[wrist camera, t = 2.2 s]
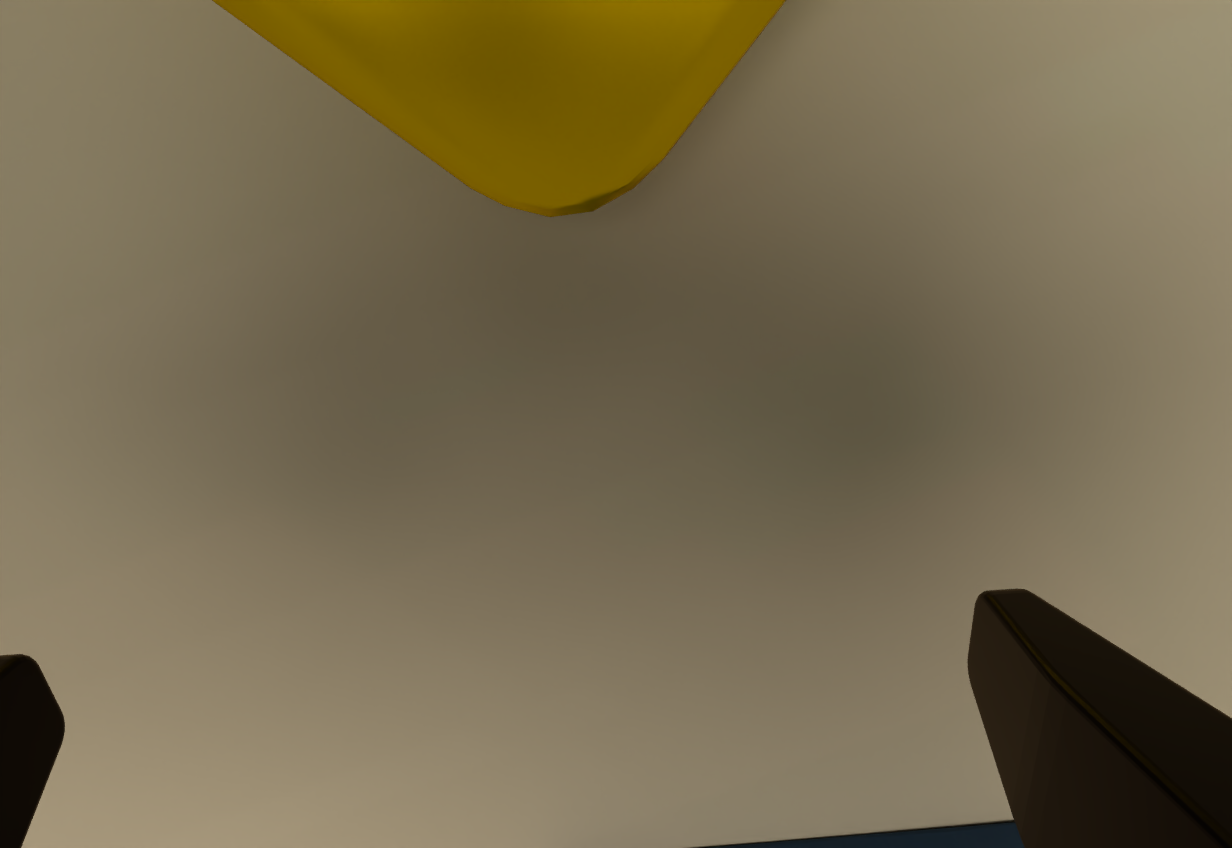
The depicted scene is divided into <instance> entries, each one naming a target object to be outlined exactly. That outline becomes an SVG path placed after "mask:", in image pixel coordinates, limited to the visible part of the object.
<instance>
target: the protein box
mask: <svg viewBox="0 0 1232 848" xmlns="http://www.w3.org/2000/svg"><path fill="white" fill-rule="evenodd" d="M708 848H1024V845H1023V843H1022V840H1021V838H1020V835H1019V832H1018V829H1017V826H1016V823H1015V822H1012V823H1000V824H988V825H977V826H966V827H952V828H939V829H927V830H916V831H904V832H893V833H879V834H866V835H855V836H843V837H829V838H821V839H807V840H791V841H780V842H770V843H757V844H745V845H733V846H720V847H708Z"/></svg>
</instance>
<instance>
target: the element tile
mask: <svg viewBox="0 0 1232 848" xmlns="http://www.w3.org/2000/svg"><path fill="white" fill-rule="evenodd" d="M212 1H214V2H215V3H216V4H218V5H219V6H221V7H222V8H223V9H225V10H226V11H227V12H229V13H230V14H232V15H233V16H234V17H236V18H237V19H238V20H240V21H241V22H243V23H244V24H245V25H247V26H248V27H249V28H251V29H252V30H254V31H255V32H256V33H258V34H259V35H260V36H262V37H263V38H265V39H266V40H267V41H269V42H270V43H271V44H273V45H274V46H276V47H277V48H278V49H280V50H281V51H282V52H284V53H285V54H287V55H288V56H289V57H291V58H292V59H293V60H295V61H296V62H298V63H299V64H300V65H302V66H303V67H305V68H306V69H307V70H309V71H310V72H311V73H313V74H314V75H316V76H317V77H318V78H320V79H321V80H322V81H324V82H325V83H327V84H328V85H329V86H331V87H332V88H333V89H335V90H336V91H338V92H339V93H340V94H342V95H343V96H344V97H346V98H347V99H349V100H350V101H351V102H353V103H354V104H355V105H357V106H358V107H360V108H361V109H362V110H364V111H365V112H366V113H368V114H369V115H371V116H372V117H373V118H375V119H376V120H377V121H379V122H380V123H382V124H383V125H384V126H386V127H387V128H388V129H390V130H391V131H393V132H394V133H395V134H397V135H398V136H399V137H401V138H402V139H404V140H405V141H406V142H408V143H409V144H410V145H412V146H413V147H415V148H416V149H417V150H419V151H420V152H421V153H423V154H424V155H426V156H427V157H428V158H430V159H431V160H432V161H434V162H435V163H437V164H438V165H439V166H441V167H442V168H443V169H445V170H446V171H448V172H449V173H450V174H452V175H453V176H454V177H456V178H457V179H459V180H460V181H461V182H463V183H464V184H465V185H467V186H468V187H470V188H471V189H473V190H475V191H477V192H479V193H481V194H483V195H485V196H487V197H489V198H490V199H492V200H494V201H496V202H498V203H500V204H502V205H504V206H508V207H512V208H516V209H520V210H524V211H528V212H532V213H536V214H540V215H544V216H548V217H554V216H562V215H569V214H577V213H584V212H592V211H594V210H596V209H598V208H600V207H601V206H603V205H605V204H607V203H609V202H610V201H612V200H614V199H616V198H617V197H619V196H621V195H623V194H624V193H626V192H628V191H630V190H632V189H633V188H634V187H635V186H636V185H638V184H639V183H640V182H641V181H642V180H643V179H644V178H645V177H646V176H647V175H648V174H649V173H650V172H651V171H652V170H653V169H654V168H655V167H656V166H657V165H658V164H659V163H660V162H661V161H662V160H663V159H664V158H665V157H666V156H667V154H668V153H669V152H670V150H671V149H672V148H673V147H674V145H675V144H676V143H677V141H678V140H679V139H680V137H681V136H682V135H683V134H684V132H685V131H686V130H687V128H688V127H689V126H690V124H691V123H692V122H693V121H694V119H695V118H696V117H697V115H698V114H699V113H700V112H701V110H702V109H703V108H704V106H705V105H706V104H707V102H708V101H709V100H710V99H711V97H712V96H713V95H714V93H715V92H716V91H717V89H718V88H719V87H720V86H721V84H722V83H723V82H724V80H725V79H726V78H727V77H728V75H729V74H730V73H731V71H732V70H733V69H734V67H735V66H736V65H737V64H738V62H739V61H740V60H741V58H742V57H743V56H744V55H745V53H746V52H747V51H748V49H749V48H750V47H751V45H752V44H753V43H754V42H755V40H756V39H757V38H758V36H759V35H760V34H761V32H762V31H763V30H764V29H765V27H766V26H767V25H768V23H769V22H770V21H771V20H772V18H773V17H774V16H775V14H776V13H777V12H778V10H779V9H780V8H781V7H782V5H783V4H784V3H785V1H786V0H212Z"/></svg>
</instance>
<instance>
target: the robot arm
mask: <svg viewBox="0 0 1232 848" xmlns="http://www.w3.org/2000/svg"><path fill="white" fill-rule="evenodd" d="M968 674H969V679H970V683H971V687H972V690H973V693H974V696H975V699H976V703H977V706H978V709H979V712H980V715H981V718H982V721H983V724H984V728H985V731H986V734H987V737H988V740H989V743H990V746H991V749H992V753H993V756H994V759H995V762H996V765H997V768H998V771H999V774H1000V778H1001V781H1002V784H1003V787H1004V790H1005V793H1006V796H1007V799H1008V803H1009V806H1010V809H1011V812H1012V815H1013V818H1014V821H1015V823H1016V826H1017V829H1018V832H1019V835H1020V838H1021V840H1022V843H1023V845H1024V848H1232V718H1231V717H1229V716H1227V715H1226V714H1224V713H1223V712H1221V711H1219V710H1218V709H1216V708H1215V707H1213V706H1211V705H1210V704H1208V703H1207V702H1205V701H1203V700H1202V699H1200V698H1199V697H1197V696H1196V695H1194V694H1192V693H1191V692H1189V691H1188V690H1186V689H1184V688H1183V687H1181V686H1180V685H1178V684H1176V683H1175V682H1173V681H1172V680H1170V679H1168V678H1167V677H1165V676H1164V675H1162V674H1161V673H1159V672H1157V671H1156V670H1154V669H1153V668H1151V667H1149V666H1148V665H1146V664H1145V663H1143V662H1141V661H1140V660H1138V659H1137V658H1135V657H1134V656H1132V655H1130V654H1129V653H1127V652H1126V651H1124V650H1122V649H1121V648H1119V647H1118V646H1116V645H1114V644H1113V643H1111V642H1110V641H1108V640H1106V639H1105V638H1103V637H1102V636H1100V635H1099V634H1097V633H1095V632H1094V631H1092V630H1091V629H1089V628H1087V627H1086V626H1084V625H1083V624H1081V623H1079V622H1078V621H1076V620H1075V619H1073V618H1072V617H1070V616H1068V615H1067V614H1065V613H1064V612H1062V611H1060V610H1059V609H1057V608H1056V607H1054V606H1052V605H1051V604H1049V603H1048V602H1046V601H1044V600H1043V599H1041V598H1040V597H1038V596H1037V595H1035V594H1033V593H1031V592H1029V591H1028V590H1025V589H1005V590H990V591H984V592H983V593H981V594H980V595H979V596H978V598H977V600H976V603H975V608H974V615H973V622H972V630H971V637H970V644H969V652H968ZM64 732H65V722H64V716H63V713H62V711H61V709H60V707H59V705H58V703H57V701H56V699H55V697H54V695H53V693H52V691H51V689H50V687H49V685H48V683H47V681H46V679H45V677H44V675H43V673H42V671H41V669H40V667H39V665H38V664H37V662H36V661H35V660H34V659H32V658H31V657H30V656H27V655H23V654H15V655H0V848H21V847H22V844H23V841H24V839H25V836H26V834H27V831H28V829H29V826H30V824H31V821H32V819H33V816H34V813H35V811H36V808H37V806H38V803H39V801H40V798H41V796H42V793H43V790H44V788H45V785H46V783H47V780H48V778H49V775H50V773H51V770H52V768H53V765H54V762H55V760H56V757H57V755H58V752H59V750H60V747H61V745H62V741H63V738H64Z"/></svg>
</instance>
